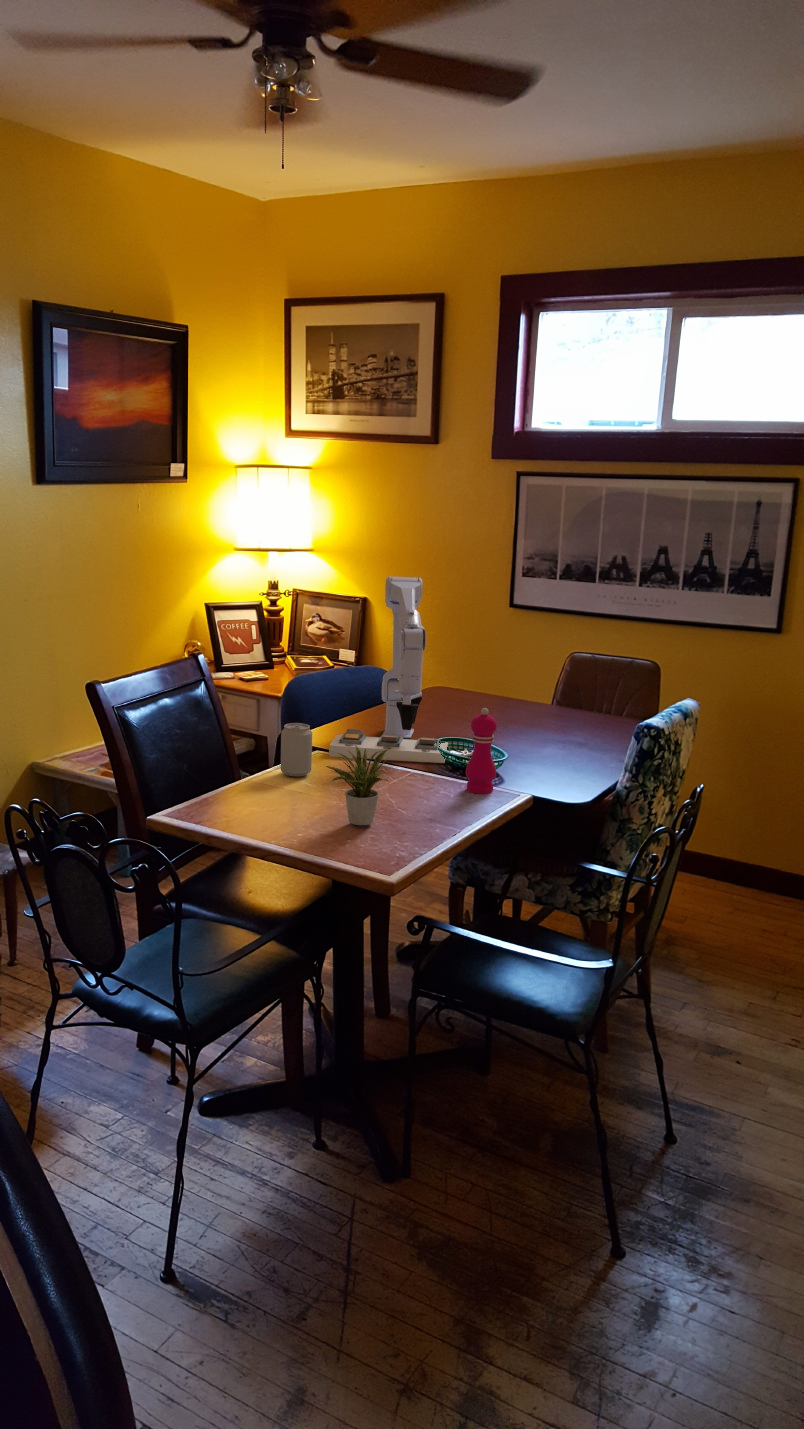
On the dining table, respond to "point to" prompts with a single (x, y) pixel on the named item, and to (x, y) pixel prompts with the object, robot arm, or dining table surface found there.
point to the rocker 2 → (389, 738)
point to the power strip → (399, 751)
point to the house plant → (361, 787)
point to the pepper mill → (482, 755)
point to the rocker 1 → (353, 734)
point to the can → (296, 749)
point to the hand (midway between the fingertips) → (408, 726)
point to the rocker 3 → (428, 740)
